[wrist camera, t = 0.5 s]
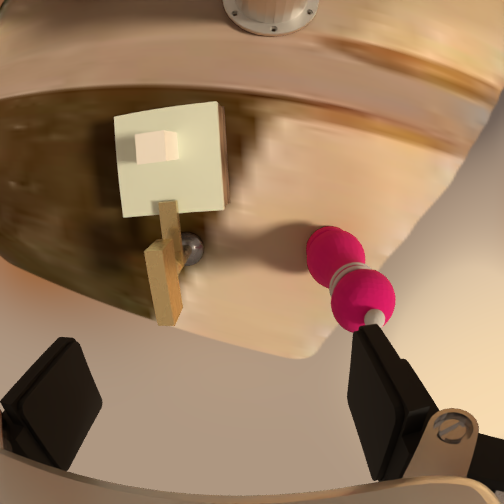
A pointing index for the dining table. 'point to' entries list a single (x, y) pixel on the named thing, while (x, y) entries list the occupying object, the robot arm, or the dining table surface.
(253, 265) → the dining table surface
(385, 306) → the pepper mill
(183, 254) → the key
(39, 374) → the robot arm
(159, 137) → the cover
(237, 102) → the dining table surface
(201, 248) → the silver metal disc
